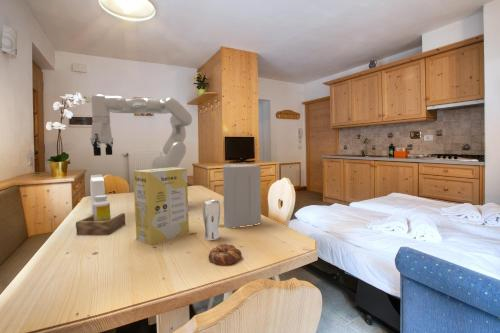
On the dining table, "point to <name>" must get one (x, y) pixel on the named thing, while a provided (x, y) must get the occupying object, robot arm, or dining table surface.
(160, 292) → the dining table surface
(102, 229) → the dock
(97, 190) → the milk
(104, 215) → the supplement bottle
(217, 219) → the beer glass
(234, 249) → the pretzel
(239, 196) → the paper bag
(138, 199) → the pasta box
